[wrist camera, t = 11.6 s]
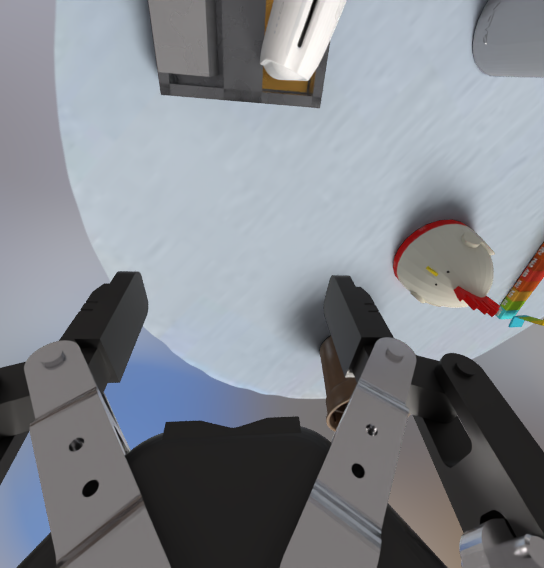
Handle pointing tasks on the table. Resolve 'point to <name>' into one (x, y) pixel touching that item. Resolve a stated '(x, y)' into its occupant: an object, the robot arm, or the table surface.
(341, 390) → the plant pot
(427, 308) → the table surface
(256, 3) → the rack
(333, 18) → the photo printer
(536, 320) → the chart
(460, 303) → the kitchen timer
